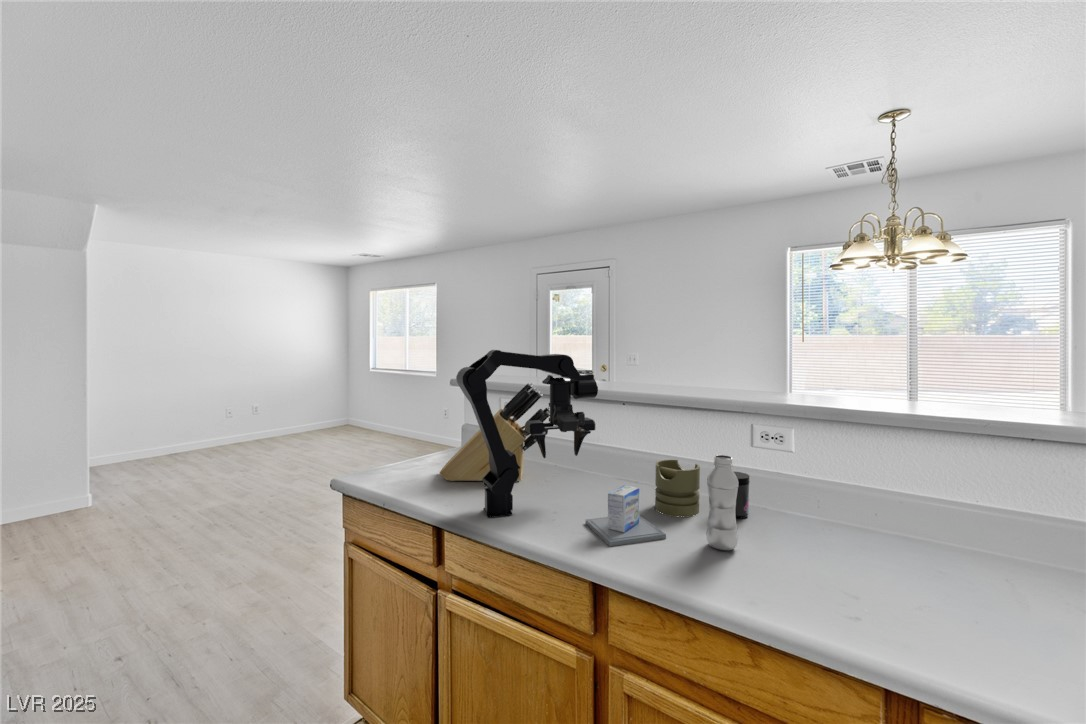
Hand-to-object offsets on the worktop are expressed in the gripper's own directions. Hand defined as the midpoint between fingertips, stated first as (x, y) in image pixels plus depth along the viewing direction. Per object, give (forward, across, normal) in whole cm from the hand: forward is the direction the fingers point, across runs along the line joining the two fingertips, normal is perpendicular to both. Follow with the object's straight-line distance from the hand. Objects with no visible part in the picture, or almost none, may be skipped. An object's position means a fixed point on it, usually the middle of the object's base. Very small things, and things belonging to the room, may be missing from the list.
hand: (560, 456), depth 138 cm
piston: (+13, +28, -14) cm, 34 cm away
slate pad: (+13, +8, -23) cm, 28 cm away
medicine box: (+12, +8, -23) cm, 27 cm away
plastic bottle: (+13, +24, -38) cm, 47 cm away
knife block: (+13, -11, +30) cm, 35 cm away
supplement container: (+13, +40, -22) cm, 47 cm away
